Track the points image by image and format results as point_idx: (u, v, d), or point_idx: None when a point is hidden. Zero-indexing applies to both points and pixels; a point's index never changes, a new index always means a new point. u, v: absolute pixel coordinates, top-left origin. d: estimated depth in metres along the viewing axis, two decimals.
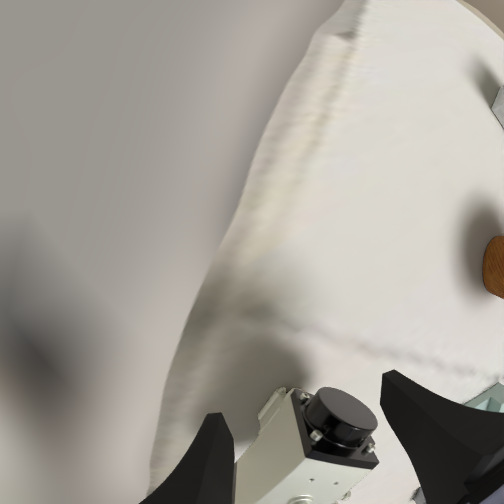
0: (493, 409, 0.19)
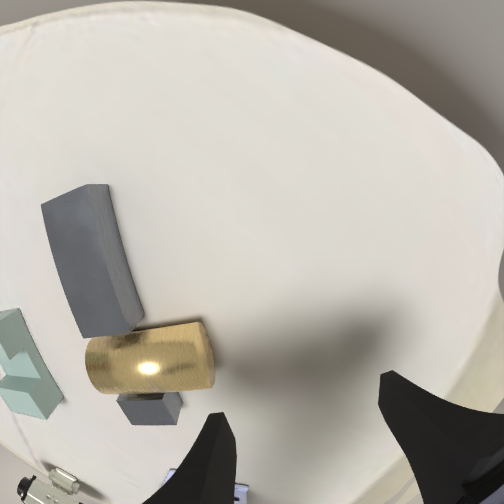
0: None
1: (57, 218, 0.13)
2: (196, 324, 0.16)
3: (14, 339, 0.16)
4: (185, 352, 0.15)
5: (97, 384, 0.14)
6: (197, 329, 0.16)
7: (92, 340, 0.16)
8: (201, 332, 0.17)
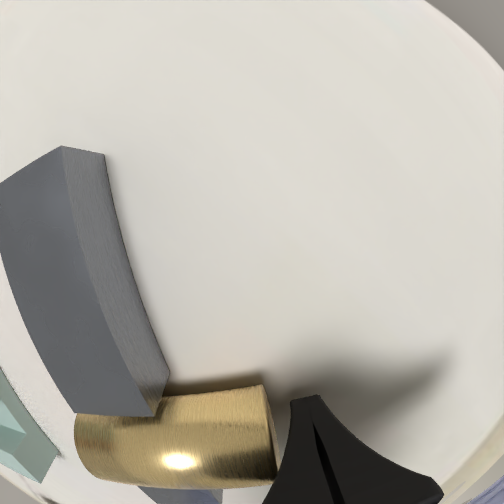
0: None
1: (11, 215, 0.06)
2: (261, 391, 0.09)
3: None
4: (250, 443, 0.07)
5: (96, 472, 0.07)
6: (263, 399, 0.09)
7: None
8: (265, 400, 0.10)
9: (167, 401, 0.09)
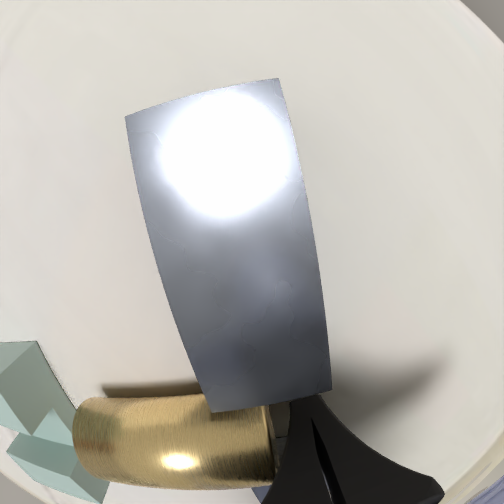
0: None
1: (178, 146, 0.06)
2: None
3: (34, 397, 0.09)
4: (249, 444, 0.07)
5: (94, 472, 0.07)
6: None
7: (81, 407, 0.09)
8: None
9: (165, 401, 0.09)
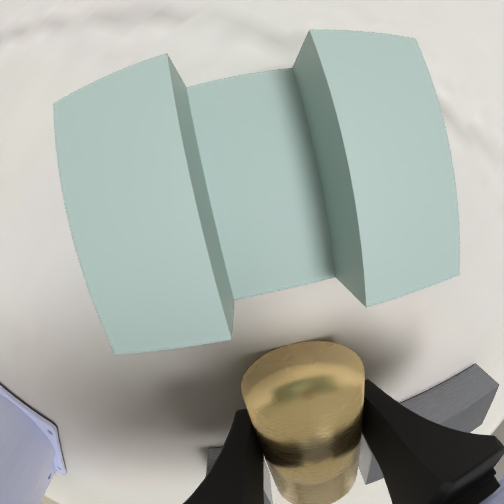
0: (313, 96, 0.06)
1: (481, 407, 0.10)
2: None
3: None
4: (347, 488, 0.09)
5: (306, 428, 0.07)
6: None
7: (363, 368, 0.09)
8: None
9: None
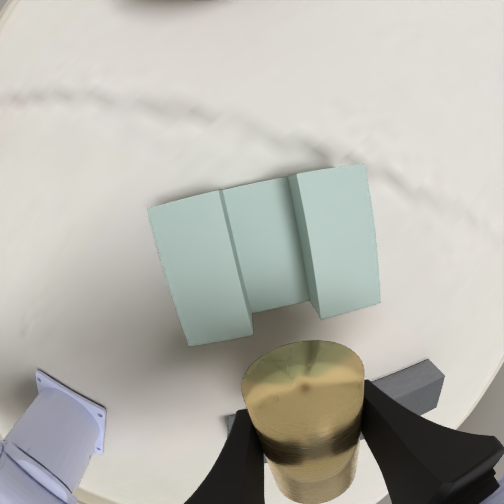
0: (297, 205, 0.13)
1: (430, 392, 0.16)
2: None
3: None
4: (345, 487, 0.09)
5: (303, 430, 0.07)
6: None
7: (363, 370, 0.09)
8: None
9: None
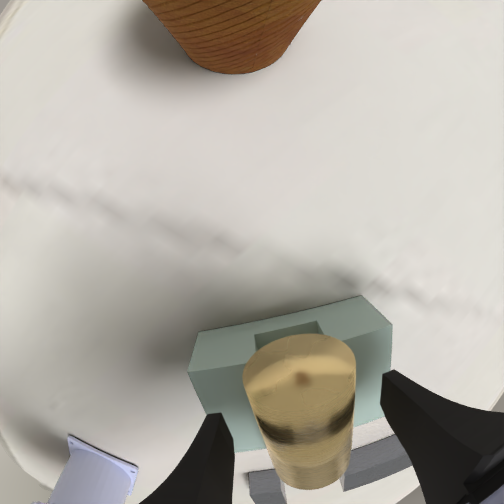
0: None
1: None
2: None
3: None
4: (340, 473, 0.10)
5: (300, 416, 0.08)
6: None
7: (355, 362, 0.09)
8: None
9: None
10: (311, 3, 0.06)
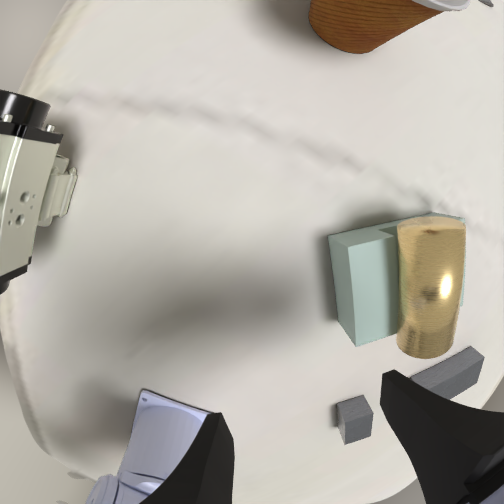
0: None
1: (475, 370, 0.20)
2: None
3: None
4: (453, 338, 0.14)
5: (450, 243, 0.11)
6: None
7: (459, 224, 0.13)
8: None
9: None
10: (420, 22, 0.10)
